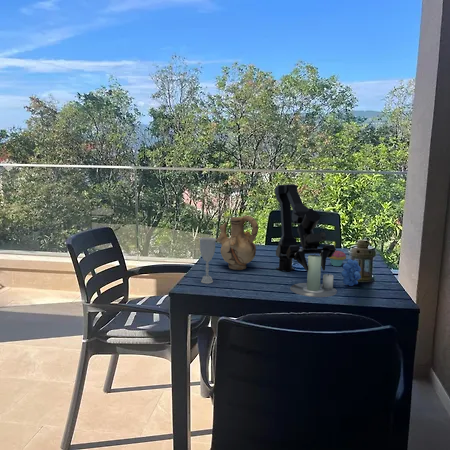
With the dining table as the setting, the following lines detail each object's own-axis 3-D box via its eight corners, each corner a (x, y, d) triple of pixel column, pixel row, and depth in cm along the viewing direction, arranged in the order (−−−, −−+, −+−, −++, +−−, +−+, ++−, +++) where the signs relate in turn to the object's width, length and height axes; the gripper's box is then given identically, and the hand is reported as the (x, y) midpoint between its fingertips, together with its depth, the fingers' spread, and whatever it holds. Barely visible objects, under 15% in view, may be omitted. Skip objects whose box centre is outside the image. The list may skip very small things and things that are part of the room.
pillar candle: (307, 286, 181) (308, 252, 179) (320, 287, 179) (322, 253, 178) (306, 290, 176) (307, 254, 174) (319, 291, 175) (321, 255, 173)
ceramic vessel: (251, 262, 223) (253, 211, 219) (263, 272, 205) (265, 217, 200) (215, 263, 219) (215, 212, 215) (223, 274, 200) (224, 218, 196)
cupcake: (326, 266, 218) (327, 241, 216) (328, 262, 226) (330, 238, 224) (344, 268, 215) (346, 243, 213) (346, 264, 223) (348, 240, 221)
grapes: (350, 292, 178) (352, 262, 176) (336, 288, 184) (338, 259, 182) (368, 287, 186) (370, 259, 183) (354, 283, 191) (356, 255, 189)
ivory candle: (325, 285, 183) (326, 271, 182) (334, 287, 181) (335, 273, 180) (320, 287, 180) (321, 273, 179) (329, 289, 178) (330, 275, 177)
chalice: (218, 280, 191) (218, 238, 188) (212, 284, 185) (213, 241, 182) (201, 278, 194) (202, 236, 191) (195, 282, 187) (196, 239, 184)
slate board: (304, 282, 190) (304, 279, 190) (344, 292, 179) (345, 288, 179) (281, 293, 176) (281, 289, 176) (323, 303, 165) (323, 300, 165)
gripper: (290, 225, 175) (298, 260, 167) (335, 224, 179) (346, 258, 170) (282, 241, 184) (290, 275, 176) (326, 240, 188) (335, 273, 179)
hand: (315, 270), depth 175 cm, fingers open, 6 cm apart
